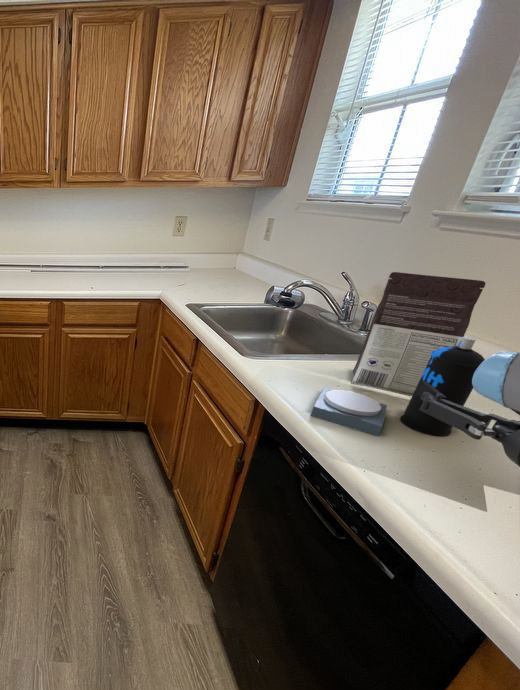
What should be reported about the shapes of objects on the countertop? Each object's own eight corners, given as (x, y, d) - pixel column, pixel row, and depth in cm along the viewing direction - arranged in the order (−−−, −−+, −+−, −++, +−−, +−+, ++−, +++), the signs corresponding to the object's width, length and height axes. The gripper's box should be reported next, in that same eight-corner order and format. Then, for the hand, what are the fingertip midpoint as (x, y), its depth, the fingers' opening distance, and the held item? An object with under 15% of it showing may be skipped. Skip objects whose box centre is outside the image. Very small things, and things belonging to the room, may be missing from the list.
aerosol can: (446, 423, 90) (492, 336, 81) (454, 441, 84) (505, 349, 75) (397, 411, 94) (436, 328, 86) (402, 428, 88) (444, 340, 79)
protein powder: (430, 389, 104) (485, 277, 92) (435, 403, 98) (495, 285, 86) (349, 372, 113) (390, 268, 101) (349, 384, 106) (392, 274, 94)
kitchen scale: (383, 414, 93) (389, 401, 92) (378, 436, 85) (384, 422, 84) (320, 396, 101) (324, 384, 99) (310, 415, 92) (315, 402, 91)
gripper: (440, 462, 66) (379, 400, 84) (652, 495, 60) (536, 419, 78) (463, 422, 63) (394, 366, 81) (689, 452, 56) (559, 384, 75)
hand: (464, 392), depth 80 cm, fingers open, 13 cm apart
